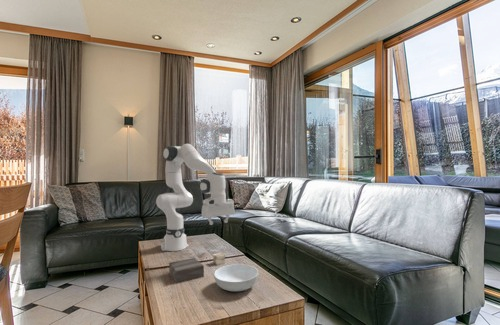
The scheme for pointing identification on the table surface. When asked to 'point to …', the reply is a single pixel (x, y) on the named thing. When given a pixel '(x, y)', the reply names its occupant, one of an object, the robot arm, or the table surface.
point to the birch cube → (219, 259)
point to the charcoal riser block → (186, 270)
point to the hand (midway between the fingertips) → (218, 223)
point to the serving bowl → (236, 277)
